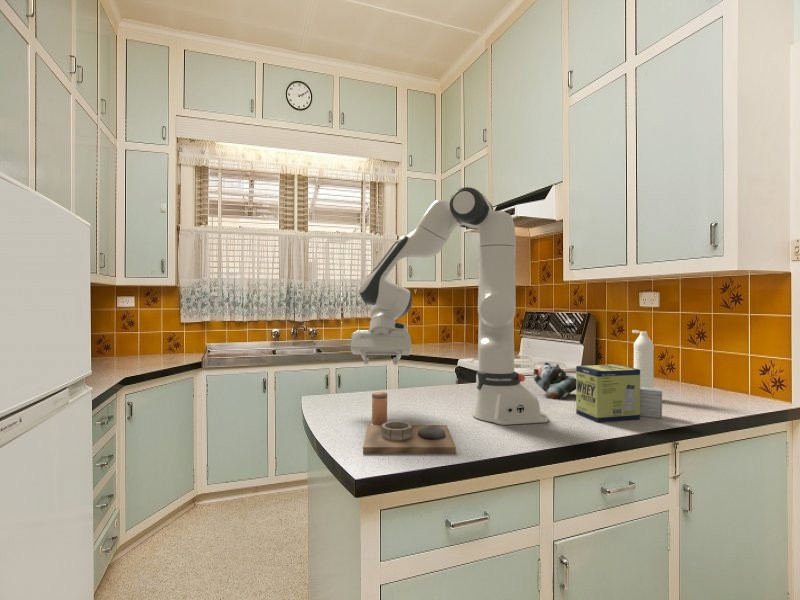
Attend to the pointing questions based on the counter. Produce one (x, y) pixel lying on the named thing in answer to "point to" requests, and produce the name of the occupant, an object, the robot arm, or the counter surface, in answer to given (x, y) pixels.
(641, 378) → the white pump bottle
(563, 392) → the grey stuffed animal toy
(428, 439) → the carrier board
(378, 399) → the hub peg
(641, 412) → the medicine box
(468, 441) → the counter surface
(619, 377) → the protein box
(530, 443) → the counter surface
